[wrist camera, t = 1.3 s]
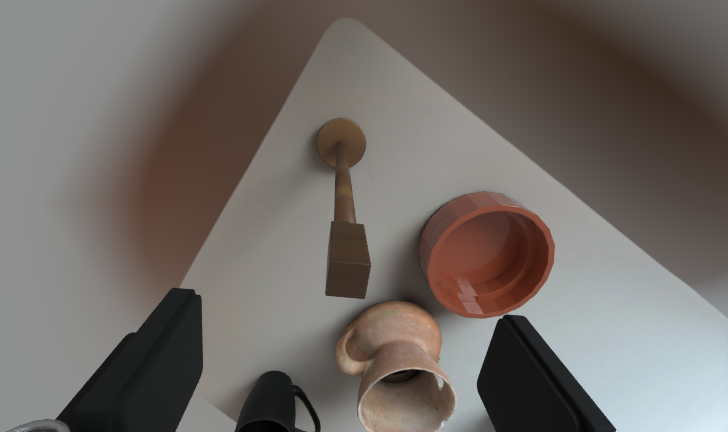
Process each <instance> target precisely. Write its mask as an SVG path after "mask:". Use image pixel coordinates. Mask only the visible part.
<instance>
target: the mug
mask: <svg viewBox="0 0 728 432" xmlns="http://www.w3.org/2000/svg"><path fill="white" fill-rule="evenodd" d="M294 396H297V397H298V398H300V399H301V400H302V402H303V403H304V405H305V406H306V408H307V410H308V411H309V413H310V415H311V417H312V419H313V422H314V425H315V432H320V429H321V425H320V421H319V418H318V416H317V414H316V412H315V410H314V408H313V407H312V405H311V403H310V401H309V400H308V398H307V396H306V395H305V393H304V392H303V391H302V389H301V388H299V387H298V386H295V385H292V381H291V379H290V377H289V376H288V375H286V374H285V373H283V372H280V371H269V372H266V373H264V374H263V375H262V376H261V377H260V378H259V380H258V381H257V383H256V385H255V386H254V387H253V389H252V391H251V392H250V394H249V395H248V397H247V399H246V401H245V403H244V405H243V407H242V410H241V413H240V416H239V419H238V422H237V426H236V429H235V432H306V431H302V430H300V429H297V428H295V417H296V408H295V398H294Z"/></svg>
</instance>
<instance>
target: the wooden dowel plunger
mask: <svg viewBox="0 0 728 432" xmlns="http://www.w3.org/2000/svg"><path fill="white" fill-rule="evenodd" d="M316 145H317V151H318V153H319V155H320V157H321V159H322V160H323V161H324V162H325V163H326V164H328V165H329V166H331V167H334V168H336V175H335V209H334V221H332V222H331V230H330V237H329V245H328V258H327V274H326V291H325V295H326V296H336V297H348V298H359V299H365V296H366V290H367V285H368V279H369V274H370V268H371V262H370V257H369V251H368V245H367V240H366V234H365V229H364V225H363V224H356V217H355V210H354V202H353V194H352V186H351V178H350V170H349V167H352V166H354V165H355V164H357V163H358V162H359V161H360V160H361V158H362V157H363V155H364V152H365V148H366V140H365V136H364V134H363V132H362V130H361V128H360V127H359V126H358V125H357V124H356V123H355V122H353V121H352V120H349V119H346V118H336V119H332V120H330V121H328V122H327V123H326V124H324V125H323V127H322V128H321V130H320V131H319V134H318V137H317V144H316Z"/></svg>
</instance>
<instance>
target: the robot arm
mask: <svg viewBox="0 0 728 432" xmlns="http://www.w3.org/2000/svg"><path fill="white" fill-rule="evenodd" d="M202 369H203V344H202V301H201V296H200V295H196V294H195V290H193V289H182V288H172V289H171V290H170V291H169V292H168V294H167V295H166V296H165V297H164V299H163V300H162V301H161V302H160V304H159V305H158V306H157V307H156V308H155V310H154V311H153V312H152V313H151V315H150V316H149V317H148V318H147V320H146V321H145V322H144V323H143V325H142V326H141V327H140V328H139V330H138V331H137V332H136V333H129V334H128V335H126V336H125V338H123V340H122V341H121V342H120V343H119V344H118V346H117V347H116V348H115V349H114V350H113V351H112V353H111V354H110V355H109V356H108V357H107V359H106V360H105V361H104V362H103V363H102V365H101V366H100V367H99V368H98V369H97V371H96V372H95V373H94V374H93V375H92V376H91V378H90V379H89V380H88V381H87V382H86V384H85V385H84V386H83V387H82V389H81V390H80V391H79V392H78V393H77V394H76V395H75V397H74V398H73V399H72V400H71V401H70V403H69V404H68V405H67V406H66V407H65V409H64V410H63V411H62V412H61V413H60V415H59V416H58V417H57V418H56V419H55V420H52V419H44V420H37V421H32V422H29V423H26V424H23V425H20V426H17V427H15V428H13V429H11V430H9V431H7V432H175V431H176V429H177V427H178V425H179V422H180V421H181V418H182V416H183V414H184V412H185V410H186V407H187V405H188V403H189V401H190V399H191V397H192V395H193V393H194V390H195V388H196V386H197V384H198V382H199V380H200V377H201V374H202ZM477 390H478V393H479V395H480V397H481V400H482V402H483V404H484V406H485V408H486V410H487V413H488V415H489V417H490V419H491V421H492V424H493V426H494V428H495V430H496V432H616V429H615V427H614V426H613V425H612V424H611V422H610V421H609V420H608V419H607V417H606V416H605V415H604V414H603V412H602V411H601V410H600V409H599V407H598V406H597V405H596V404H595V403H594V401H593V400H592V399H591V398H590V396H589V395H588V394H587V393H586V391H585V390H584V389H583V388H582V386H581V385H580V384H579V383H578V382H577V380H576V379H575V378H574V377H573V375H572V374H571V373H570V372H569V370H568V369H567V368H566V367H565V365H564V364H563V363H562V362H561V361H560V359H559V358H558V357H557V356H556V354H555V353H554V352H553V351H552V349H551V348H550V347H549V346H548V344H547V343H546V342H545V341H544V339H543V338H542V337H541V336H540V335H539V333H538V332H537V331H536V330H535V328H534V327H533V326H532V325H531V323H530V322H529V321H528V320H527V318H525V317H524V316H519V315H504V316H503V318H502V319H499V320H498V322H497V324H496V327H495V330H494V333H493V336H492V339H491V342H490V345H489V348H488V351H487V354H486V356H485V359H484V362H483V365H482V368H481V371H480V374H479V377H478V380H477Z"/></svg>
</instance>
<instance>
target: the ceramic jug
mask: <svg viewBox="0 0 728 432" xmlns="http://www.w3.org/2000/svg"><path fill="white" fill-rule="evenodd" d="M441 345H442V338H441V332H440V328H439V326H438V324H437V322H436V320H435V319H434V318H433V317H432V315H431V314H430V313H429V312H427V311H426V310H425V309H423V308H422V307H420V306H418V305H416V304H413V303H410V302H406V301H386V302H381V303H378V304H375V305H373V306H371V307H369V308H367V309H366V310H364V311H363V312H362V313H360V314H359V315H358V316H357V317H356V318H355V319H354V320H353V321H352V323H351V324H350V325H349V326H348V327H347V328H346V331H345V334H344V335H343V336H342V337H341V338H340V339H339V340H338V342H337V344H336V348H335V356H336V361H337V364H338V366H339V368H340V369H341V370H342V371H343V372H344V373H346V374H349V375H353V376H359V375H361V377H362V380H361V384H360V389H359V394H358V405H357V412H358V418H359V420H360V423H361V424H362V426H363V427H364V428H365V430H367V431H368V432H438V431H439V430H440V429H442V428H443V426H444V422H445V421H449V420H450V419H451V417H452V416H453V414H454V412H455V408H456V404H457V400H458V398H457V396H456V394H455V391H454V389H453V386H452V384H451V382H450V381H449V379H448V377H447V376H446V374H445V373H444V372H443V370H442V369H441V368H440V367H439V365H438V364H437V363H438V362H439V361H440V358H439V354H440V350H441ZM438 376H439V377H440V378H442V379H443V380H444V385H443V387H442V388H441V387H440V382H439V379H438Z"/></svg>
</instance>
